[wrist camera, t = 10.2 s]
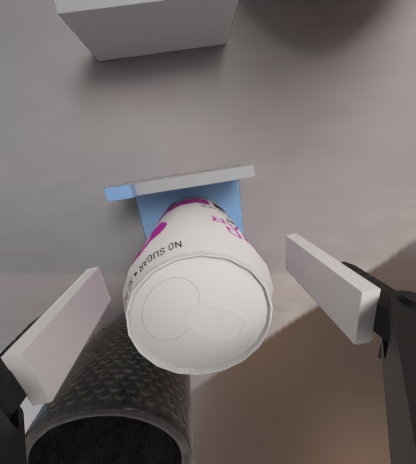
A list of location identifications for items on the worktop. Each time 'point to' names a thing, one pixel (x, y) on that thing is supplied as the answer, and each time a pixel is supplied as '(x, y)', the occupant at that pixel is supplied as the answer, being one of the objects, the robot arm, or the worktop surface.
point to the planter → (114, 409)
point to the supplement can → (197, 291)
